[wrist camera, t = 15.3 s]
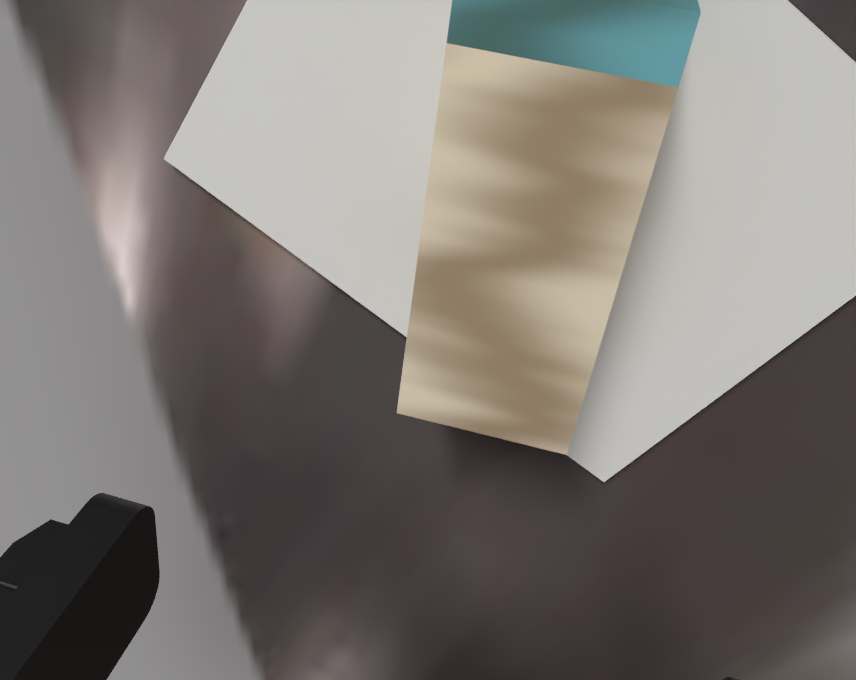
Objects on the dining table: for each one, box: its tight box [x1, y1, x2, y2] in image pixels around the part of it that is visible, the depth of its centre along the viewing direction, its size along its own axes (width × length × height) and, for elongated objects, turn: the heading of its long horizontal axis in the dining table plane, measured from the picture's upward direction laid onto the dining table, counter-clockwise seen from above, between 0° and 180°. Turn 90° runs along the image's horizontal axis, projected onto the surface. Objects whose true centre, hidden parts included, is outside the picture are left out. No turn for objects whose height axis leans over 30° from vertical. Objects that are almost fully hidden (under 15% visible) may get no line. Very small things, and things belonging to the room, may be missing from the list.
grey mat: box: [164, 0, 856, 482], centre depth 24 cm, size 19×15×1 cm
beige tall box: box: [397, 0, 701, 455], centre depth 22 cm, size 5×5×12 cm
